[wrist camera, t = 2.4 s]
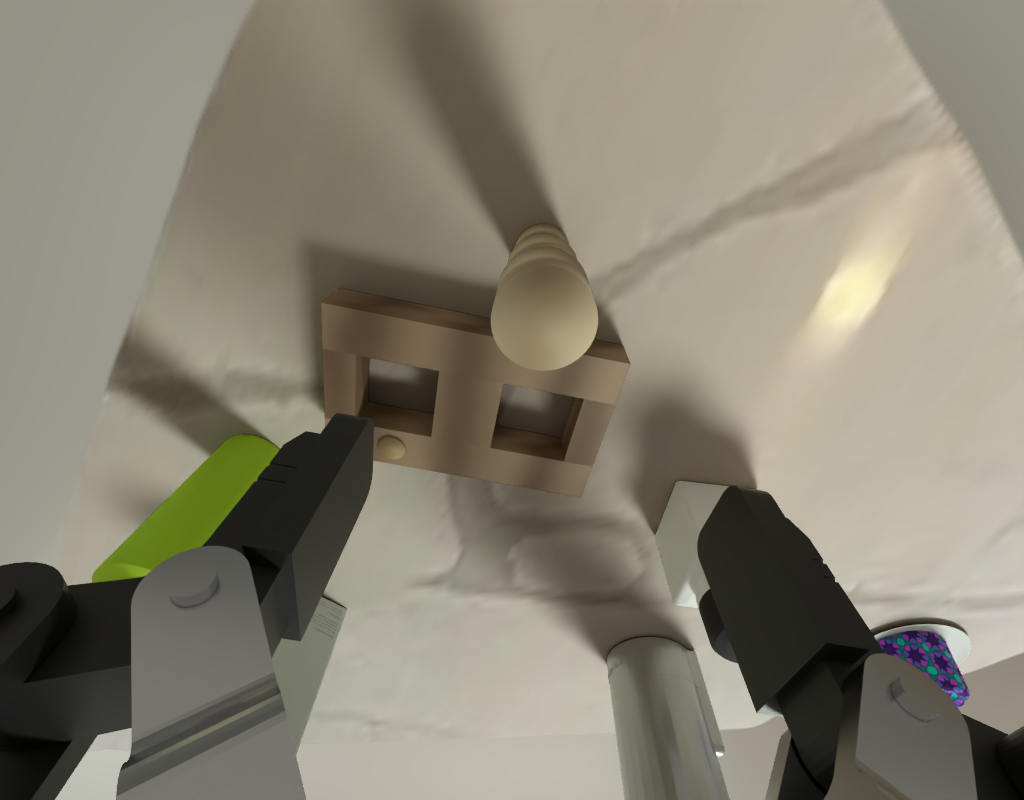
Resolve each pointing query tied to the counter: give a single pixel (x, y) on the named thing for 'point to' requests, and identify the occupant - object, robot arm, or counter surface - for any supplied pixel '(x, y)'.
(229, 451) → the soap dispenser
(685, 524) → the medicine bottle
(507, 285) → the peg
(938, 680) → the pudding
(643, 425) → the counter surface
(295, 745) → the skincare box
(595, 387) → the board
